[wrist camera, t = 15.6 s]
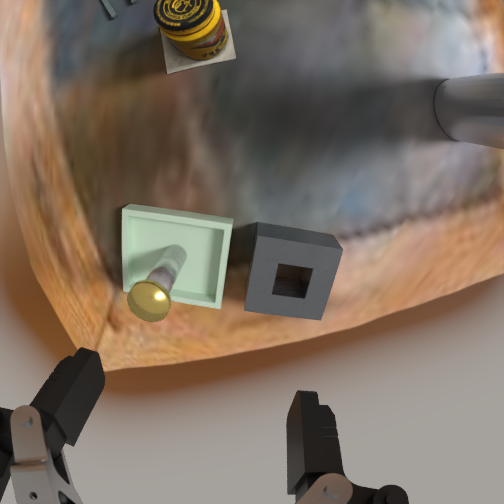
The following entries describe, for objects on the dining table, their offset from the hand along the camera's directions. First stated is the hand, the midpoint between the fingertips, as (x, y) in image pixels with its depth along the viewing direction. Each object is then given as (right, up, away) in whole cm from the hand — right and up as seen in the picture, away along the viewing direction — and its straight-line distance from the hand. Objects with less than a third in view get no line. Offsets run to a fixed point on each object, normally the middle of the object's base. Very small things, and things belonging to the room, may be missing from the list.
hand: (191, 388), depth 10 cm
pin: (-8, +5, +28) cm, 30 cm away
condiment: (-4, +31, +18) cm, 36 cm away
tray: (-8, +5, +29) cm, 30 cm away
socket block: (+7, +4, +29) cm, 30 cm away
